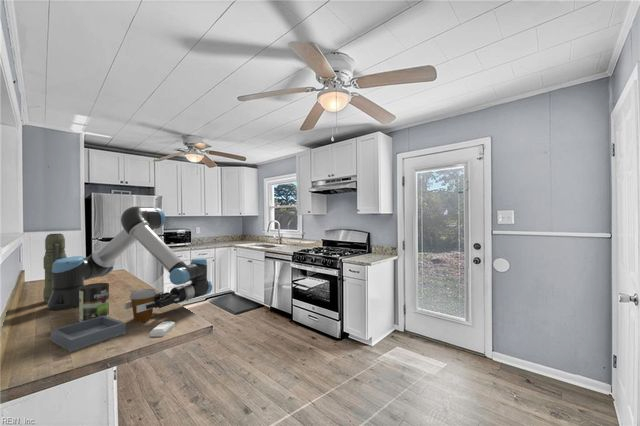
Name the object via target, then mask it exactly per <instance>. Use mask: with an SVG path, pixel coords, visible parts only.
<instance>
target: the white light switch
mask: <svg viewBox="0 0 640 426" xmlns="http://www.w3.org/2000/svg"><path fill="white" fill-rule="evenodd" d="M173 327H174V328H175V327H176V322H174V321H162V322H161V323H159V324H158V325H156V327H154V328H153V329H152V330H150V332H149V337H165V336H166V335H167V334H168V333H169V332H170V331H172V330H173V329H174V328H173ZM172 328H173V329H172ZM171 329H172V330H171ZM165 334H166V335H165Z"/></svg>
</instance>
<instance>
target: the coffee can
mask: <svg viewBox="0 0 640 426" xmlns="http://www.w3.org/2000/svg"><path fill="white" fill-rule="evenodd" d="M78 307H79V310H78V311H79V312H78V313H79V314H78V317H79V319H78V321H79V322H82V321H86V320H89V319H93V318H97V317H100V316H107V317H109V316H110V310H109V309H110V283H108V282H96V283H90V284H84V286H81V287H79V306H78Z"/></svg>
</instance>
